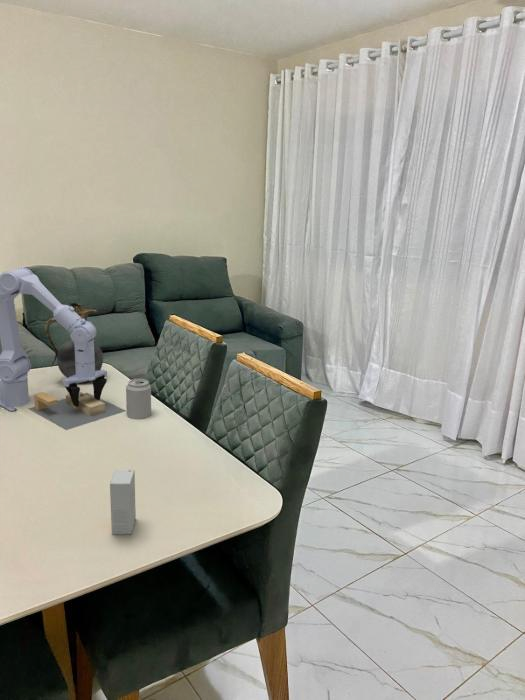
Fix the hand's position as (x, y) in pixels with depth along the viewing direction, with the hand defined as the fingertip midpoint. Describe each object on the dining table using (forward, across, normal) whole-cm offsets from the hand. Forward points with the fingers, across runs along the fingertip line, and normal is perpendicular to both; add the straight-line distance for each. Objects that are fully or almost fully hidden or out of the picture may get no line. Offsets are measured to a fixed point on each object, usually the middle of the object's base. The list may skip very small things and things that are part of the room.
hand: (86, 402), depth 171 cm
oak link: (+2, 0, +1) cm, 2 cm away
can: (+3, +9, -15) cm, 18 cm away
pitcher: (+3, +12, +25) cm, 28 cm away
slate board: (+3, -2, +1) cm, 4 cm away
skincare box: (+3, -29, -59) cm, 66 cm away
